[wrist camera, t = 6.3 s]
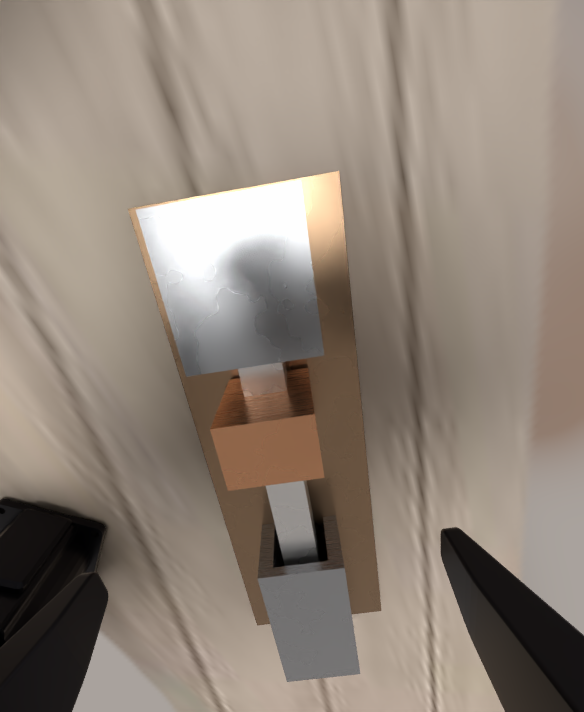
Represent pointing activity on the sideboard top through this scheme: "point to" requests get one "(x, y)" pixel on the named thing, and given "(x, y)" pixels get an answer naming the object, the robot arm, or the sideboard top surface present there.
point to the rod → (273, 449)
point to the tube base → (298, 350)
